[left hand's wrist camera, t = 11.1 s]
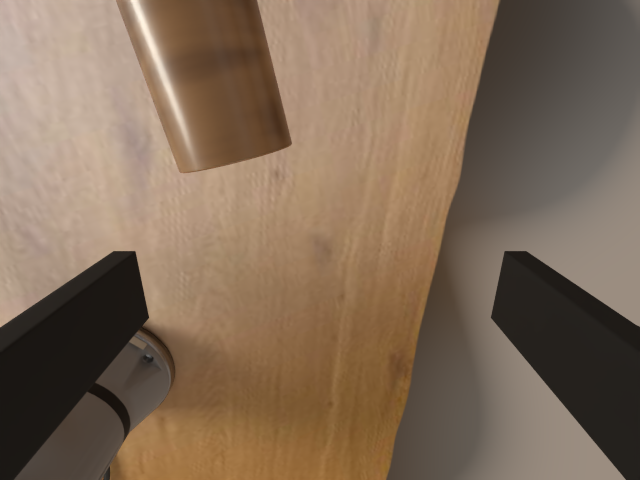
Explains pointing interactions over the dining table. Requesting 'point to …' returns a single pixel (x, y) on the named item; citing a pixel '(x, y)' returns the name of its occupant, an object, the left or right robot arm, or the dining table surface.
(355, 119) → the dining table surface
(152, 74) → the rod
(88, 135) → the dining table surface
